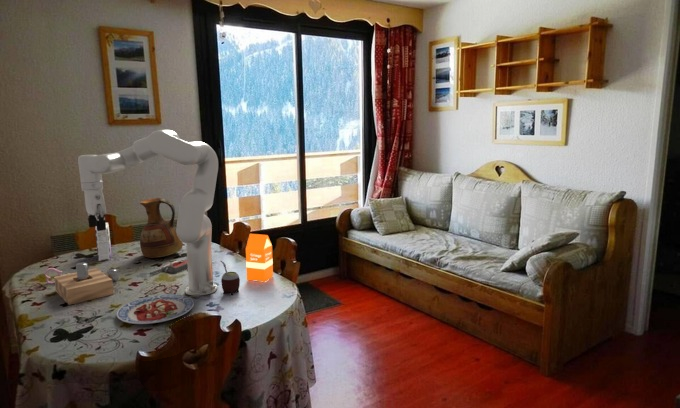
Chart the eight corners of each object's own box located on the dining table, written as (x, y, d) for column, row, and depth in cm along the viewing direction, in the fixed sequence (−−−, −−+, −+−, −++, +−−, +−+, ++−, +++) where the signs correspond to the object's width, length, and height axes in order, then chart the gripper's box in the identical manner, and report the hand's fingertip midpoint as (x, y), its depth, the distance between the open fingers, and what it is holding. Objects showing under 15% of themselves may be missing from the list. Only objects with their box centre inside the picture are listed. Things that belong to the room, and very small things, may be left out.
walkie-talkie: (181, 263, 223) (148, 276, 206) (181, 255, 222) (147, 266, 205) (195, 266, 219) (162, 279, 202) (195, 257, 219) (162, 269, 201)
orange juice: (265, 283, 195) (263, 237, 192) (246, 280, 198) (244, 235, 195) (273, 277, 203) (272, 232, 199) (255, 275, 206) (253, 231, 202)
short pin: (120, 281, 199) (118, 270, 198) (110, 283, 196) (109, 272, 195) (116, 278, 201) (115, 267, 201) (107, 281, 199) (105, 270, 198)
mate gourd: (238, 288, 189) (236, 253, 186) (241, 295, 182) (240, 258, 179) (220, 291, 186) (218, 255, 184) (222, 298, 179) (220, 261, 176)
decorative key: (97, 283, 204) (43, 283, 195) (97, 283, 205) (44, 283, 196) (98, 269, 203) (45, 268, 194) (98, 268, 204) (45, 267, 195)
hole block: (113, 293, 184) (112, 279, 183) (68, 304, 173) (67, 289, 172) (98, 281, 198) (96, 268, 197) (55, 291, 187) (53, 276, 186)
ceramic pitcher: (143, 252, 242) (138, 196, 237) (183, 248, 248) (179, 193, 243) (139, 262, 224) (133, 202, 219) (182, 259, 230) (178, 200, 224)
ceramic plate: (106, 313, 166) (105, 305, 165) (174, 294, 184) (174, 287, 183) (134, 336, 148) (133, 328, 147) (207, 313, 166) (206, 305, 165)
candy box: (99, 254, 239) (95, 223, 236) (111, 252, 241) (108, 222, 238) (97, 261, 227) (94, 228, 224) (111, 259, 229) (108, 227, 226)
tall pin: (91, 292, 185) (88, 264, 183) (80, 295, 183) (77, 266, 181) (88, 290, 188) (85, 261, 186) (77, 292, 186) (74, 263, 183)
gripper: (109, 186, 178) (115, 229, 181) (95, 183, 190) (100, 223, 193) (88, 189, 173) (94, 233, 176) (75, 185, 185) (80, 227, 188)
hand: (97, 228), depth 184 cm, fingers open, 9 cm apart
